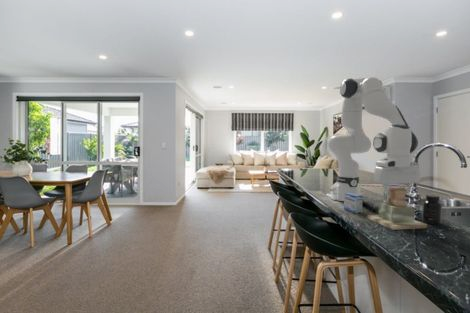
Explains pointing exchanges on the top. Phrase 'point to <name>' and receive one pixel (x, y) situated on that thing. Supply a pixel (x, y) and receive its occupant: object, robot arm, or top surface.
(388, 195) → the syrup box
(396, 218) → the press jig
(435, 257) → the top surface
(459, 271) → the top surface
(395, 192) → the peg
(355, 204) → the medicine box
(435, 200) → the supplement bottle
